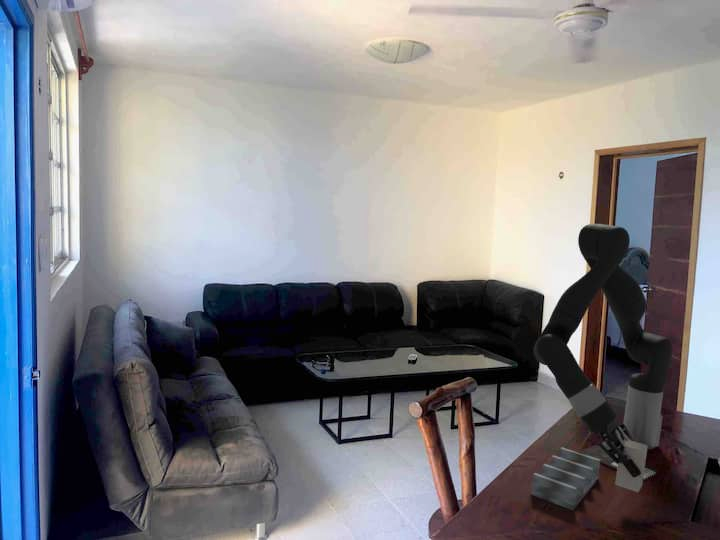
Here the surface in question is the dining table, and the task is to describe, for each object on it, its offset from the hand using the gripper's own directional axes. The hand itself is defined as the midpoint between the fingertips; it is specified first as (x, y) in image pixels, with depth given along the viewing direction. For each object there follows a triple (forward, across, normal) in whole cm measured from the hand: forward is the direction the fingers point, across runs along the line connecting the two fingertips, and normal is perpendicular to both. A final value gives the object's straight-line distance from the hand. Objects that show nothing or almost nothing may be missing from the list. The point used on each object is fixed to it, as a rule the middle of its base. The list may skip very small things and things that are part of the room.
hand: (639, 471), depth 135 cm
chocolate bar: (+1, +23, +14) cm, 27 cm away
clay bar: (+2, 0, +4) cm, 5 cm away
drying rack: (-4, 0, +18) cm, 19 cm away
